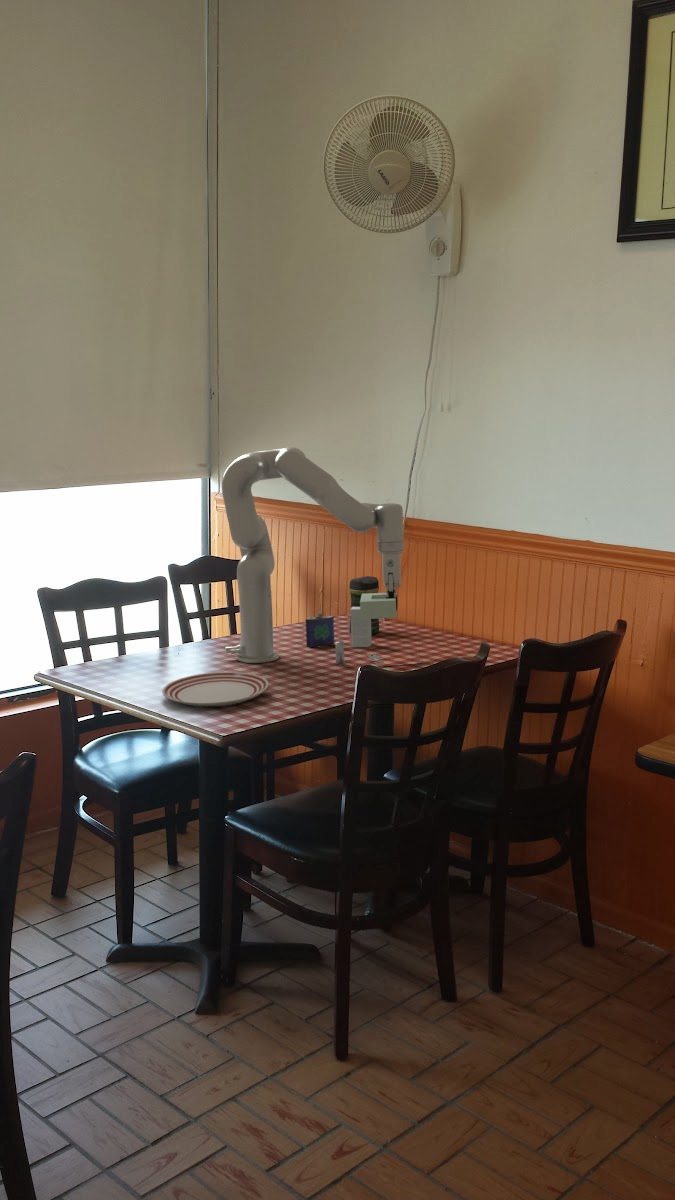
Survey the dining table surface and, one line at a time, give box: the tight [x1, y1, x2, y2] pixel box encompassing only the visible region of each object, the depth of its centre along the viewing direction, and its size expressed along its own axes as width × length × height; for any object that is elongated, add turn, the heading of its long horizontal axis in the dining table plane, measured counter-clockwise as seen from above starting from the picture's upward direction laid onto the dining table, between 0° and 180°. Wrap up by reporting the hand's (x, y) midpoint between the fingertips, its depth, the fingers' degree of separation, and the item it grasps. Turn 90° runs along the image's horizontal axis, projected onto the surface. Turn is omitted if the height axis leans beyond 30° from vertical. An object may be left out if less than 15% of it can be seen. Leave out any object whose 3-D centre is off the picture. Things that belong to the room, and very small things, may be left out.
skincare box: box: [350, 607, 373, 648], centre depth 328 cm, size 6×4×12 cm
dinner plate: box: [161, 671, 270, 707], centre depth 277 cm, size 28×27×3 cm
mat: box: [366, 651, 423, 668], centre depth 311 cm, size 13×14×1 cm
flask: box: [305, 611, 336, 648], centre depth 329 cm, size 9×3×11 cm, turn 114°
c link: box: [360, 592, 397, 620], centre depth 306 cm, size 10×12×5 cm
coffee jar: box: [348, 575, 380, 636], centre depth 343 cm, size 10×8×19 cm
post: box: [334, 640, 345, 665], centre depth 307 cm, size 2×2×6 cm
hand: (391, 609), depth 310 cm, fingers closed on c link, 3 cm apart
